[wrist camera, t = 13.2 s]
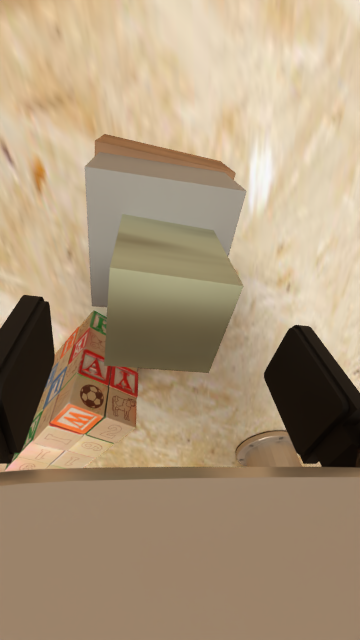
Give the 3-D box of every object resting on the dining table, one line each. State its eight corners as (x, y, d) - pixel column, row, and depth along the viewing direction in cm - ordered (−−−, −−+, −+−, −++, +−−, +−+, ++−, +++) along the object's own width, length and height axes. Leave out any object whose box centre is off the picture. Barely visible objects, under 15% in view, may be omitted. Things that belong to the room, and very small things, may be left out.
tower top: (200, 278, 23) (211, 314, 19) (101, 269, 21) (91, 306, 17) (224, 172, 18) (246, 191, 14) (99, 151, 16) (84, 166, 13)
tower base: (193, 261, 27) (201, 288, 23) (101, 247, 25) (92, 273, 21) (219, 160, 22) (235, 173, 18) (105, 133, 20) (94, 140, 16)
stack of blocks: (54, 418, 41) (26, 513, 32) (12, 404, 38) (-33, 505, 29) (140, 334, 32) (137, 430, 23) (93, 307, 29) (68, 406, 20)
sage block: (192, 303, 18) (208, 372, 13) (115, 294, 17) (104, 365, 12) (213, 230, 15) (243, 286, 10) (122, 213, 14) (109, 267, 9)
